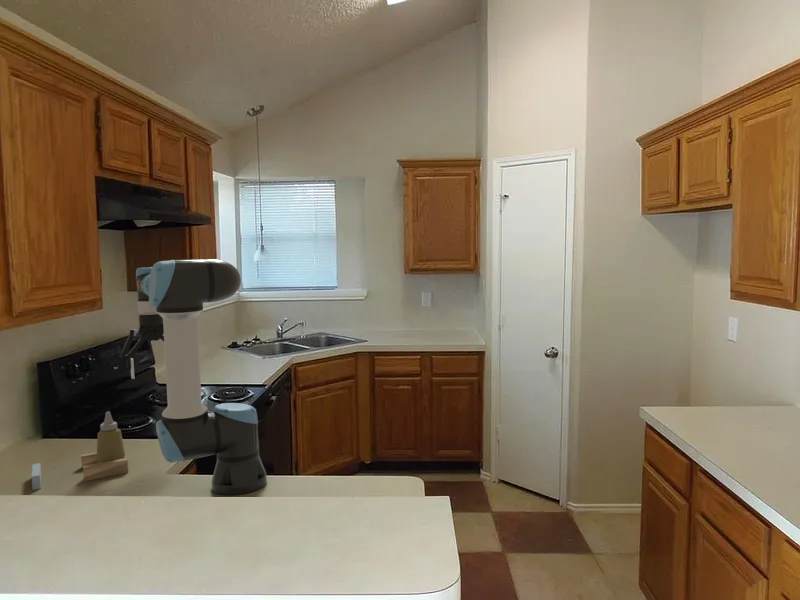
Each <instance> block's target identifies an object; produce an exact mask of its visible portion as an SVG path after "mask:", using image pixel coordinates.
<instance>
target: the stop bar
mask: <svg viewBox="0 0 800 600" xmlns="http://www.w3.org/2000/svg"><path fill="white" fill-rule="evenodd" d="M31 467H32V468H31V487H32V491H36V490H40V489H42V469H41V462H38V463H33V464H32V466H31Z"/></svg>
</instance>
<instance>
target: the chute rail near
mask: <svg viewBox="0 0 800 600" xmlns="http://www.w3.org/2000/svg"><path fill="white" fill-rule="evenodd" d="M128 461H129V460H128V458H127V457H124V458H123V459H118V460H112V461H107V462H102V463H96V464H91V465H86V466H83V469H82V474H83V482H87V481H92V480H96V479H102V478H106V477H112V476H117V475H123V474H126V473H129V465H128V464H129V463H128Z"/></svg>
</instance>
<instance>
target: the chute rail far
mask: <svg viewBox="0 0 800 600" xmlns="http://www.w3.org/2000/svg"><path fill="white" fill-rule="evenodd" d="M80 458H81V459H80V461H81V469H82V470H83V466H86V465H91V464H96V463H98V461H97V451H96V452H94V451H93V452H89V453H84V454H83V453H82V454H80Z"/></svg>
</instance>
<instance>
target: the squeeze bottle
mask: <svg viewBox="0 0 800 600" xmlns="http://www.w3.org/2000/svg"><path fill="white" fill-rule="evenodd" d="M99 425H100V430H99V432H97V441H96V452H97V461H98V463H102V462H107V461H112V460H118V459H123V458H126V452H125V448H124V439H123V435H122V431H121V429H120V428H118V422H117V421H114V420H113V417H112V414H111V411H106V412H105V416H104V420H103V423H101V424H99Z"/></svg>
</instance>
